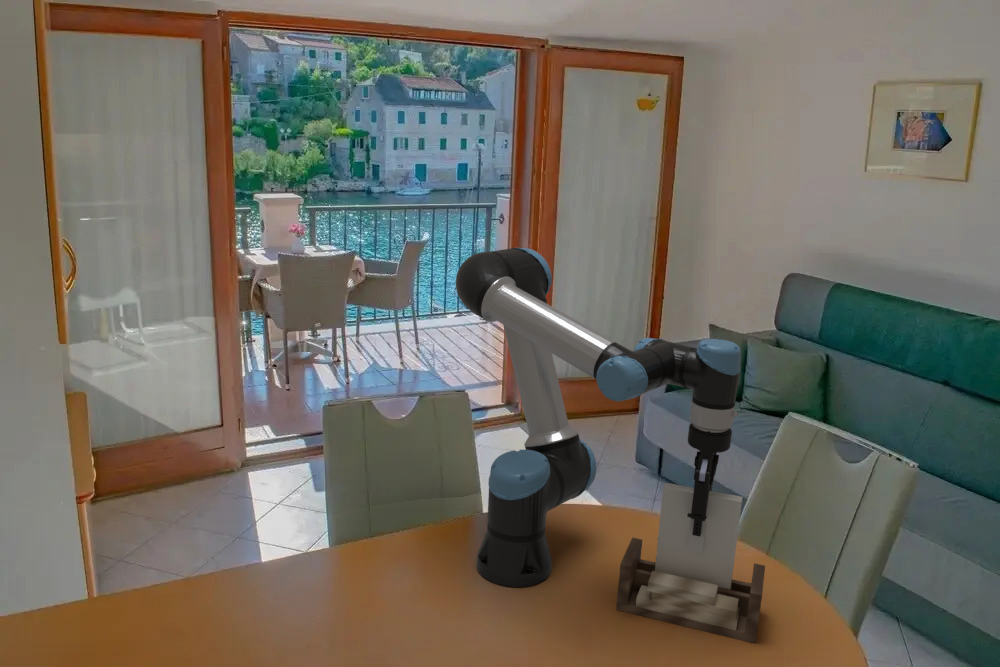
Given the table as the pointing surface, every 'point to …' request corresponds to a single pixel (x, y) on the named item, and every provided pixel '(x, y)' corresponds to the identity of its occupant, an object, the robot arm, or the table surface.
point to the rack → (639, 574)
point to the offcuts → (688, 600)
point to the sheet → (717, 541)
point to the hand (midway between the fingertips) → (696, 543)
